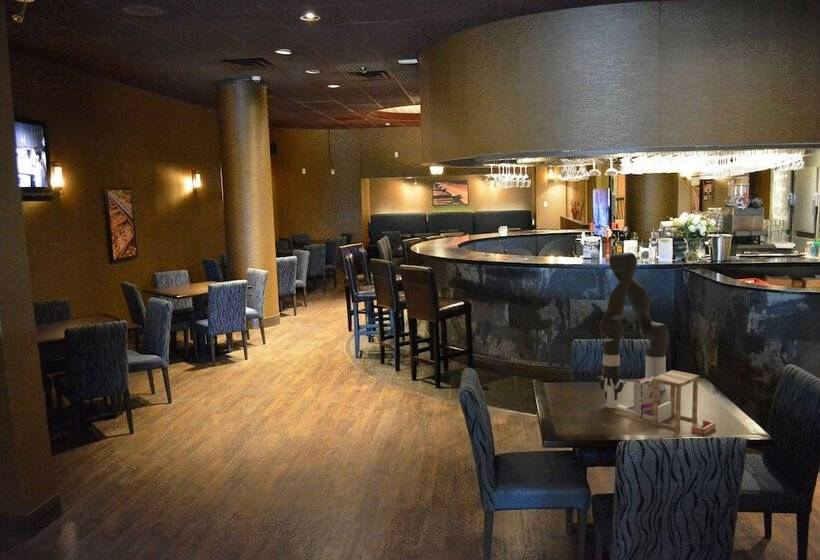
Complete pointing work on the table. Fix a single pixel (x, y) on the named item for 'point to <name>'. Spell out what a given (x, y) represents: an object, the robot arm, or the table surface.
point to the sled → (663, 409)
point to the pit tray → (704, 428)
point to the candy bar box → (644, 396)
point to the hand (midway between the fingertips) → (610, 399)
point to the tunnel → (671, 398)
